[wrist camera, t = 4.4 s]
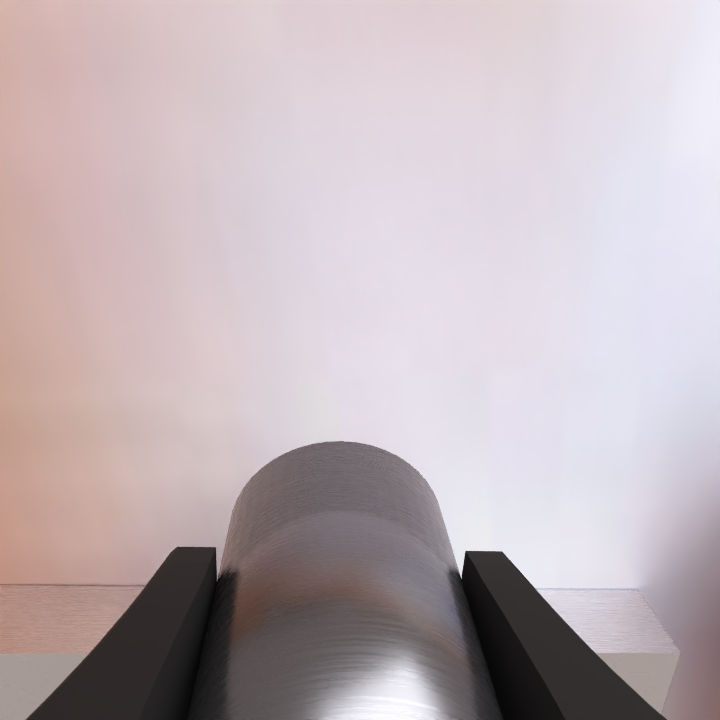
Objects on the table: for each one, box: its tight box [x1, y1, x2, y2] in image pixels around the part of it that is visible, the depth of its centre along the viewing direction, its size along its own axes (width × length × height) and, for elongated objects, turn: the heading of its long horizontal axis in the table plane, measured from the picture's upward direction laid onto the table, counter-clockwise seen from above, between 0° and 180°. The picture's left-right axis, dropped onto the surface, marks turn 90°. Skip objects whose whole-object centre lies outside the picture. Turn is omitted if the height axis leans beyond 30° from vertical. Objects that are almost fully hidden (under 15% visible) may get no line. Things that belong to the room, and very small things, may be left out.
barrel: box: [187, 441, 504, 720], centre depth 9 cm, size 4×4×6 cm
